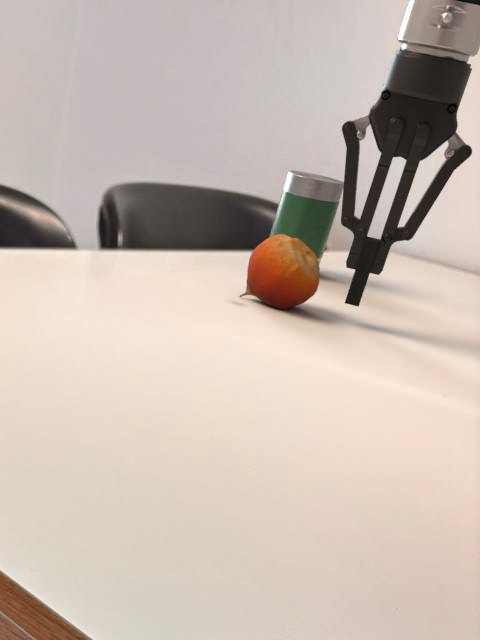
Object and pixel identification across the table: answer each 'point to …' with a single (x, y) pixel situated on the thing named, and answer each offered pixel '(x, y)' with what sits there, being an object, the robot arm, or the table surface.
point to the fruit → (282, 272)
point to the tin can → (308, 209)
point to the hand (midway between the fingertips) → (352, 302)
